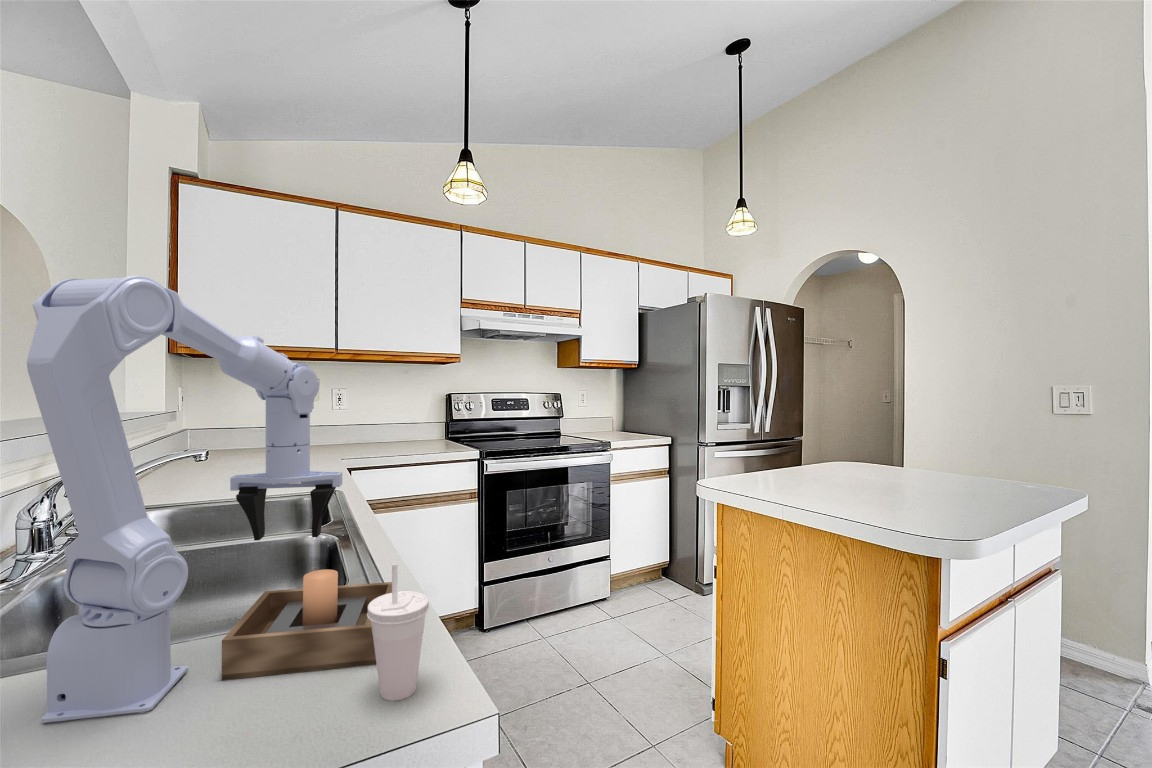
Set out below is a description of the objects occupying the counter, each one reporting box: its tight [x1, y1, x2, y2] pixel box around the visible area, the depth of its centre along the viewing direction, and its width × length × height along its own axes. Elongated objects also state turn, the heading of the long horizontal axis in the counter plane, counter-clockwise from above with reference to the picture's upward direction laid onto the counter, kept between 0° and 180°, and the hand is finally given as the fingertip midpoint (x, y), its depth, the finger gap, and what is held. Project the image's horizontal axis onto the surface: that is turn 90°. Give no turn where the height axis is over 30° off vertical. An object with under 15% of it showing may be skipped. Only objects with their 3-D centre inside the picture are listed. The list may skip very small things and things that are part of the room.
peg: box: [302, 568, 339, 626], centre depth 69 cm, size 4×4×8 cm
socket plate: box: [266, 596, 367, 633], centre depth 69 cm, size 10×10×3 cm
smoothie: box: [367, 562, 430, 702], centre depth 58 cm, size 6×6×14 cm
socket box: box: [221, 581, 392, 681], centre depth 69 cm, size 17×14×4 cm
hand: (288, 536), depth 79 cm, fingers open, 7 cm apart
